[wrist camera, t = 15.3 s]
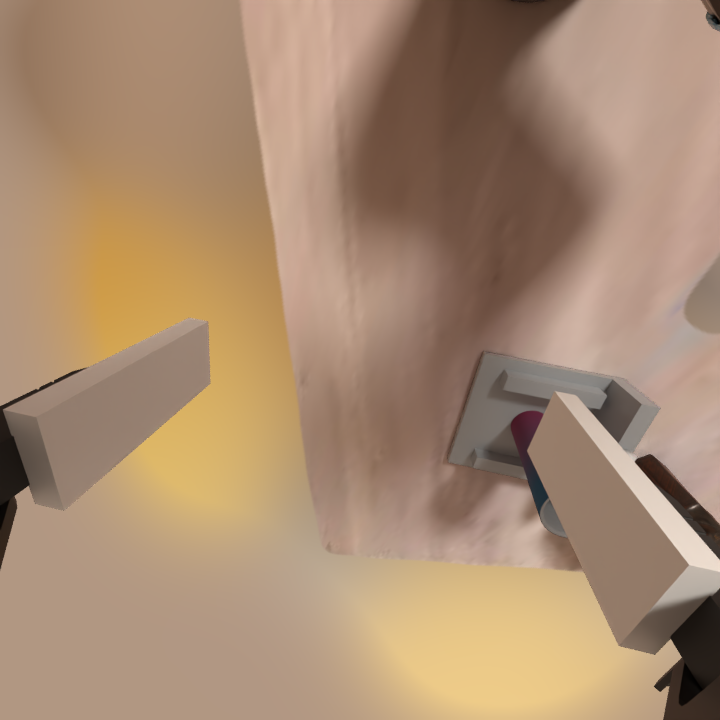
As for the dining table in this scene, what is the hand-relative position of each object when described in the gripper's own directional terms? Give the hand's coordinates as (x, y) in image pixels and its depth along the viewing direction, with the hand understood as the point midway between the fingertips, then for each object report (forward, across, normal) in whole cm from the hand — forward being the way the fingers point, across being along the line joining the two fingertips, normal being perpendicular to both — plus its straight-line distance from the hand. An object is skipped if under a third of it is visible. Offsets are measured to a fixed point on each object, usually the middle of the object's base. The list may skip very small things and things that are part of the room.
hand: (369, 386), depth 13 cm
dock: (+32, +22, -18) cm, 43 cm away
